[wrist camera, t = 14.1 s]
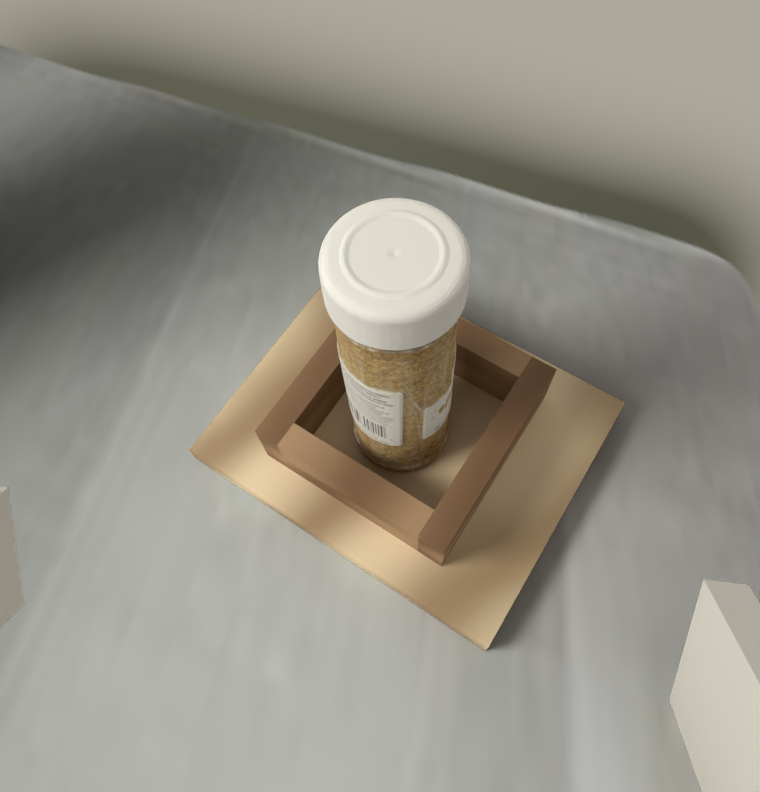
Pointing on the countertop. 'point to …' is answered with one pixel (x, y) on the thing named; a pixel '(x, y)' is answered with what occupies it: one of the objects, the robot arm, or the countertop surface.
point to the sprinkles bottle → (396, 323)
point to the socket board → (426, 486)
